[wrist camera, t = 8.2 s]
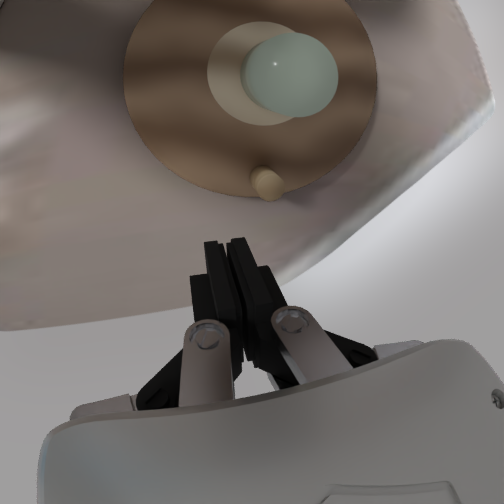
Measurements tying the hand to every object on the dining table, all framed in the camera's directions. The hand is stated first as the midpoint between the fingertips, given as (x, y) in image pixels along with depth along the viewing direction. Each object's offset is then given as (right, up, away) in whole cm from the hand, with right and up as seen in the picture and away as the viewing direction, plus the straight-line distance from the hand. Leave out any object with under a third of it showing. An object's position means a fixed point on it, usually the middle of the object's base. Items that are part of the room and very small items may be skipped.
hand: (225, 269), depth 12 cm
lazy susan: (+2, +17, +10) cm, 20 cm away
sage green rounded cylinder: (+3, +16, +9) cm, 19 cm away
